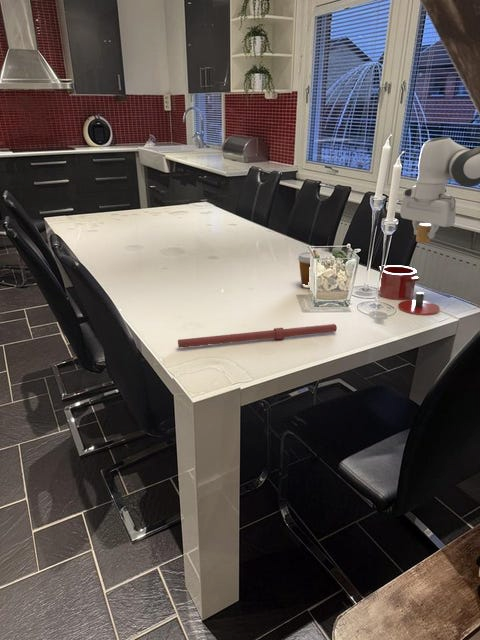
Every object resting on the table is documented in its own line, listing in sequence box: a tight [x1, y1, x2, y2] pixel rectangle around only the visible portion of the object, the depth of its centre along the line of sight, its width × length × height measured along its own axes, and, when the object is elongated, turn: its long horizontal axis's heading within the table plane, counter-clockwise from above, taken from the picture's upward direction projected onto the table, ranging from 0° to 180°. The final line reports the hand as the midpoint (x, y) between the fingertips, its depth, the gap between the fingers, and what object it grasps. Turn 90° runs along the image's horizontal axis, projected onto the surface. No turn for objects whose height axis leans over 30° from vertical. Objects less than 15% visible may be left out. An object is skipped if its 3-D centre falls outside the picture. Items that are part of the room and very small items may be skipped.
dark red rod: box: [177, 323, 338, 349], centre depth 129 cm, size 45×3×3 cm, turn 102°
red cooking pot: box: [378, 265, 420, 301], centre depth 161 cm, size 12×17×10 cm
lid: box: [397, 291, 441, 316], centre depth 149 cm, size 13×13×6 cm
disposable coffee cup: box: [297, 251, 311, 285], centre depth 174 cm, size 10×10×12 cm
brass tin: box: [415, 222, 432, 244], centre depth 151 cm, size 4×4×6 cm
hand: (423, 236), depth 152 cm, fingers closed on brass tin, 4 cm apart
